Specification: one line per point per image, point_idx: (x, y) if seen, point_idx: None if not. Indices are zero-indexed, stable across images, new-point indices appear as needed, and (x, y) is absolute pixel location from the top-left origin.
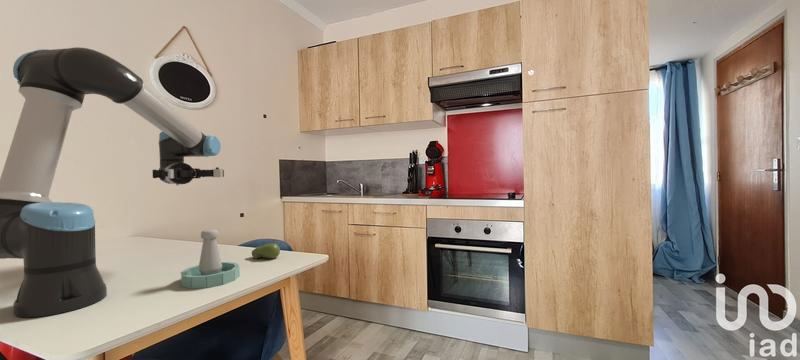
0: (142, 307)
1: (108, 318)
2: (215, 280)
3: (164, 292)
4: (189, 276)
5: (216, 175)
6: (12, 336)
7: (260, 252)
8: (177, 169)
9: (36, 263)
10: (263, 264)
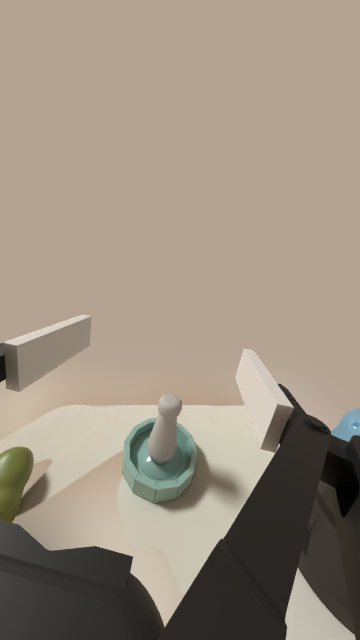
0: (234, 438)
1: None
2: None
3: (214, 462)
4: (192, 440)
5: (59, 357)
6: None
7: (26, 481)
8: (189, 592)
9: None
10: (67, 455)
